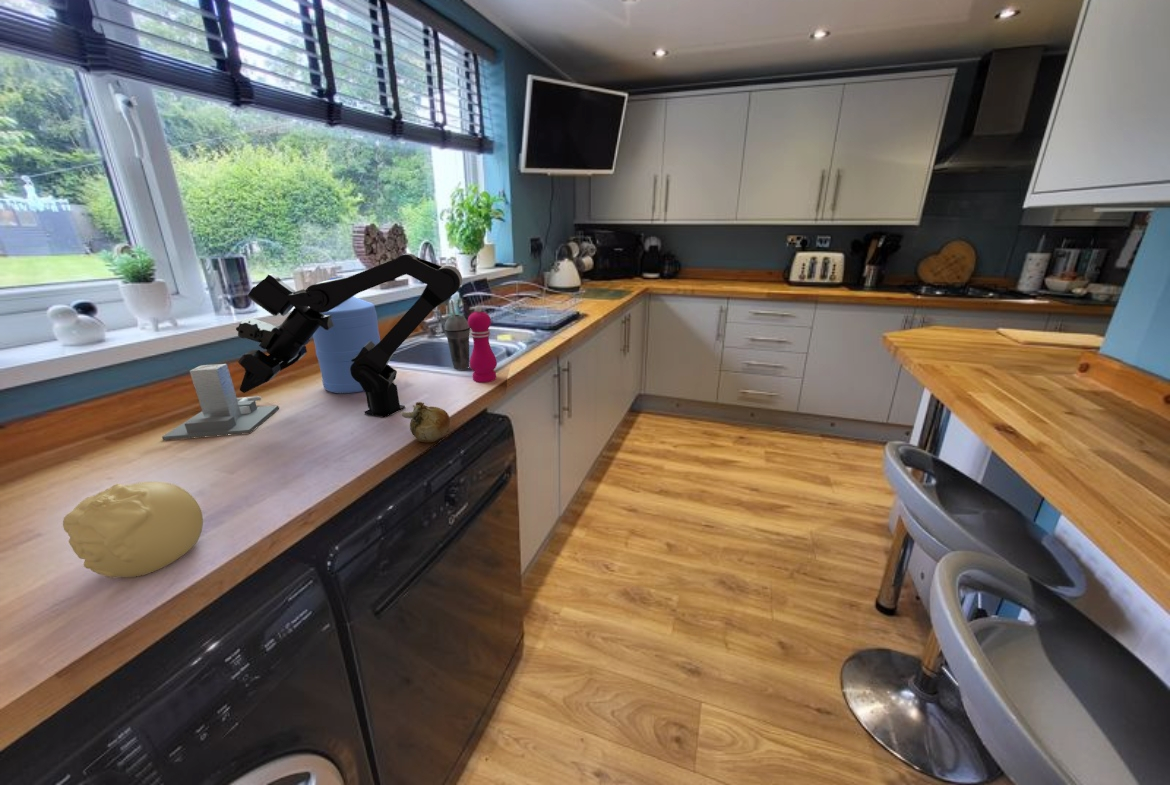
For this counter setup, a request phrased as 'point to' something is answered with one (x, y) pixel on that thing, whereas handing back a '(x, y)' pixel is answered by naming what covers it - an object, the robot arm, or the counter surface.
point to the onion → (427, 422)
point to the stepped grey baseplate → (224, 421)
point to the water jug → (345, 343)
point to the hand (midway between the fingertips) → (252, 384)
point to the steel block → (215, 391)
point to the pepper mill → (481, 347)
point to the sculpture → (134, 528)
